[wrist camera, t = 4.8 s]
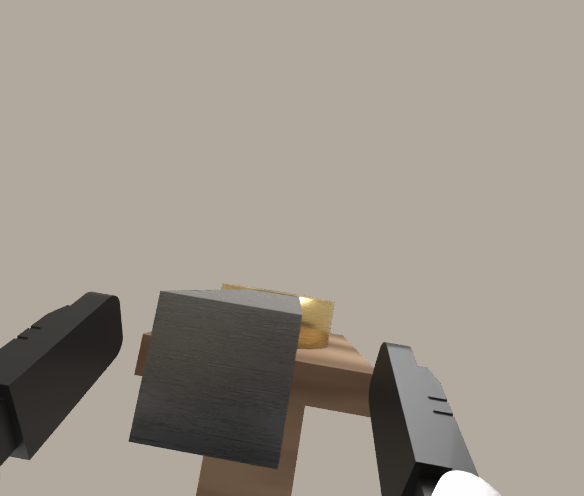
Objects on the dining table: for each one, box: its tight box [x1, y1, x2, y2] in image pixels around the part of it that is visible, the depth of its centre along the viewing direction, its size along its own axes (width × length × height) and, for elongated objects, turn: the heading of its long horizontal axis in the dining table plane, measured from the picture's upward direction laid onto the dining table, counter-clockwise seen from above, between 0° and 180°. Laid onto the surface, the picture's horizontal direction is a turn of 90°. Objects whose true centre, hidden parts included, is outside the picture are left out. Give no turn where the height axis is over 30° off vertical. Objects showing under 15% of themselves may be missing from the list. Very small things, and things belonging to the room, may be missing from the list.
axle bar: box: [129, 283, 334, 469], centre depth 17 cm, size 21×8×3 cm, turn 179°
